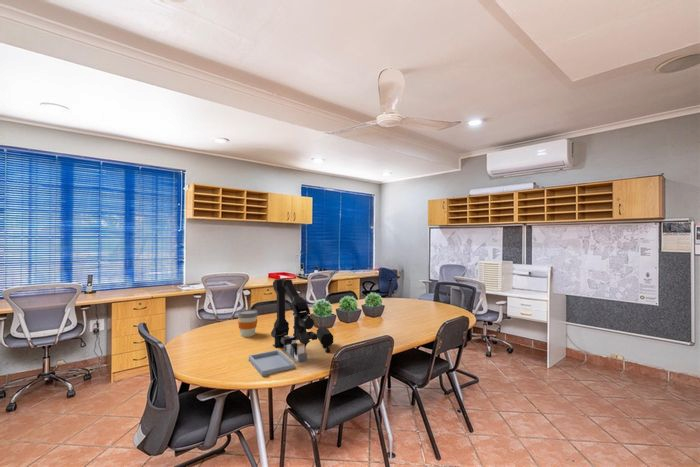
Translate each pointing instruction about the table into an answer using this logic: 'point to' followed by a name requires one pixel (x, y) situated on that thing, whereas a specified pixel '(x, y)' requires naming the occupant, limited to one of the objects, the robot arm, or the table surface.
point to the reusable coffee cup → (247, 322)
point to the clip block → (291, 355)
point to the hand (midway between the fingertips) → (299, 354)
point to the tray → (270, 362)
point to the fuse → (288, 346)
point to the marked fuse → (299, 349)
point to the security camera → (325, 337)
